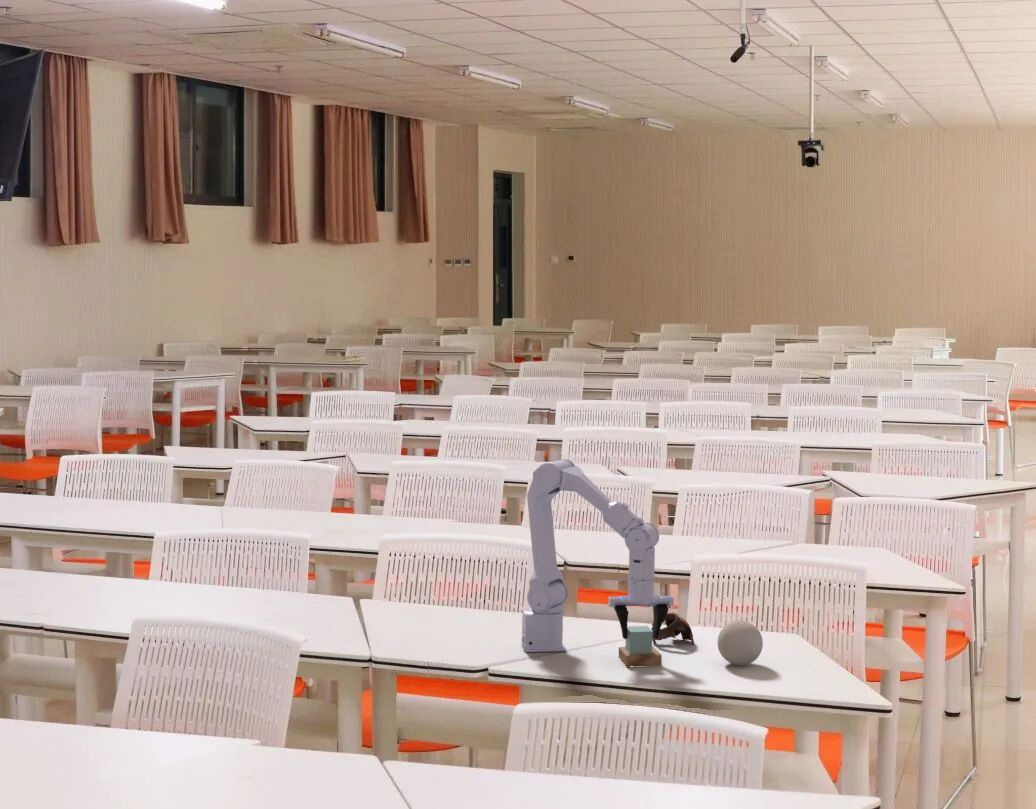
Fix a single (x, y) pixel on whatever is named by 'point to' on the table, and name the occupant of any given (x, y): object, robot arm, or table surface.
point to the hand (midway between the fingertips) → (640, 637)
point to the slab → (640, 658)
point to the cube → (639, 640)
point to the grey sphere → (740, 642)
